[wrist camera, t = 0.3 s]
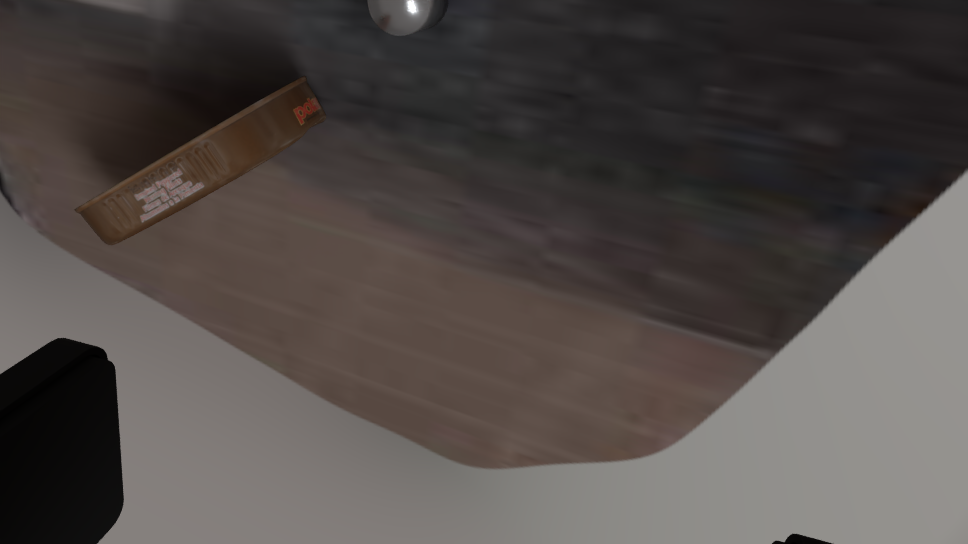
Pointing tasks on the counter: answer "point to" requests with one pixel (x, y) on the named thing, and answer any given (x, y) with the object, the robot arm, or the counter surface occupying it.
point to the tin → (204, 163)
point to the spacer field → (407, 14)
